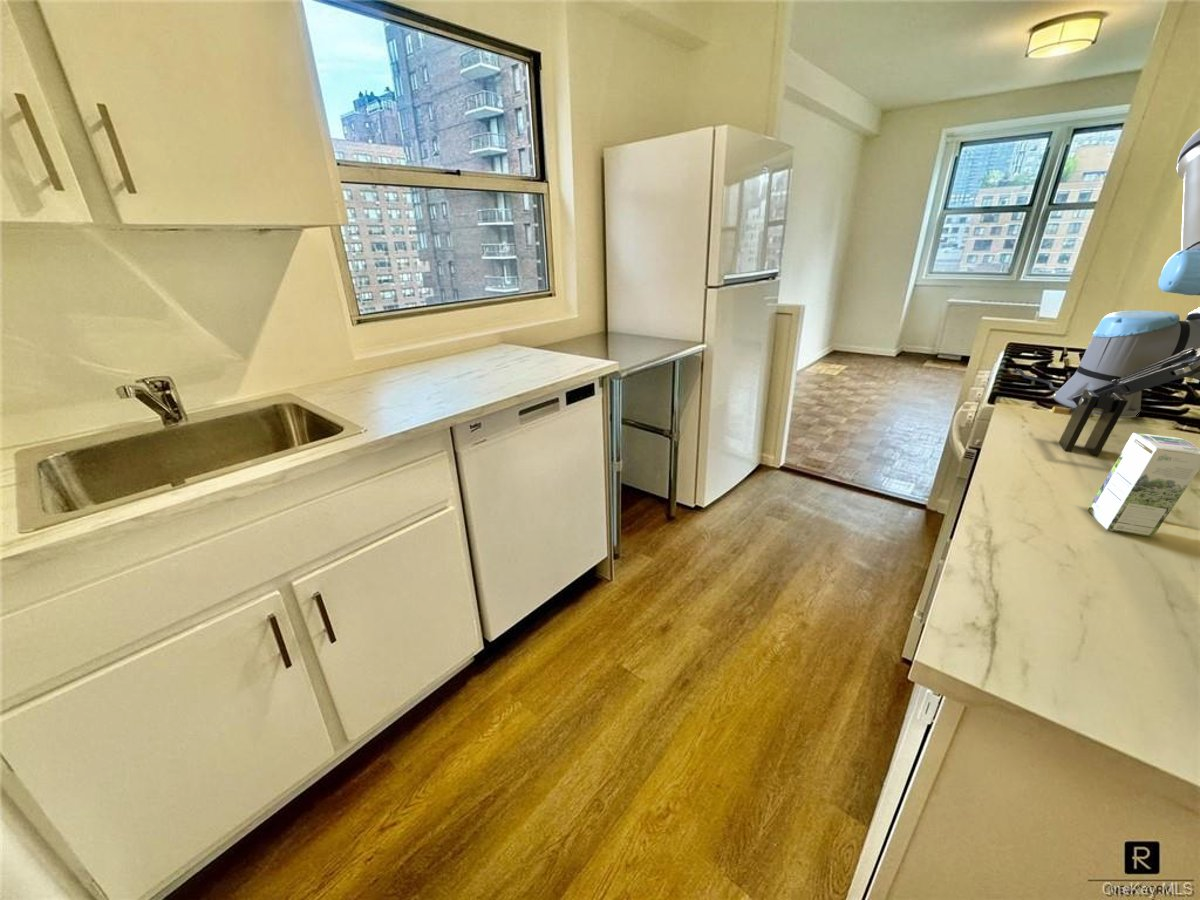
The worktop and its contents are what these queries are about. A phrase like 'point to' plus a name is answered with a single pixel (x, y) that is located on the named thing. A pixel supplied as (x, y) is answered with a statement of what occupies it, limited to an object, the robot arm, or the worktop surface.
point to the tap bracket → (1101, 427)
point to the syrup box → (1145, 483)
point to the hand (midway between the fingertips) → (1076, 403)
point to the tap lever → (1101, 405)
